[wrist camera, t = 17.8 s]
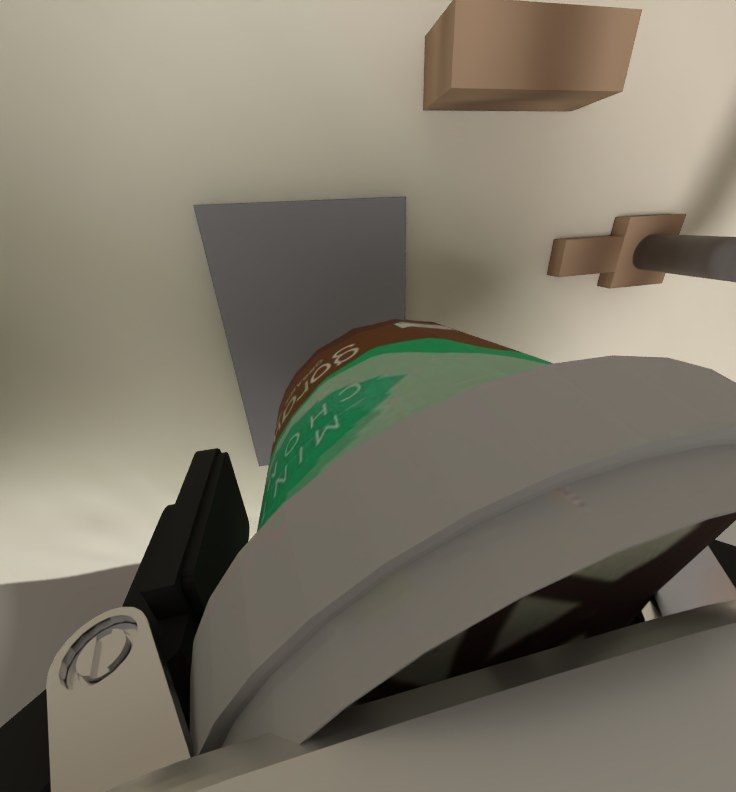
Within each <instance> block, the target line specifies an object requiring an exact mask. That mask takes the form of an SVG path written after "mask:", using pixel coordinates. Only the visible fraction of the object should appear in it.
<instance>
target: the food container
mask: <svg viewBox="0 0 736 792" xmlns="http://www.w3.org/2000/svg"><path fill="white" fill-rule="evenodd" d="M735 520H736V383H735V382H733V381H732V380H730V379H728V378H726V377H724V376H723V375H721V374H719V373H717V372H715V371H714V370H712V369H708V368H704V367H701V366H697V365H693V364H689V363H686V362H682V361H678V360H674V359H671V358H661V357H636V356H606V357H599V358H592V359H584V360H577V361H570V362H563V363H555V364H553V363H551V362H548V361H545V360H542V359H539V358H536V357H533V356H530V355H527V354H524V353H521V352H519V351H516V350H513V349H510V348H507V347H504V346H501V345H498V344H495V343H492V342H489V341H486V340H484V339H481V338H478V337H475V336H472V335H469V334H466V333H463V332H460V331H457V330H454V329H451V328H449V327H446V326H443V325H440V324H437V323H434V322H423V321H412V320H401V319H392V320H387V321H383V322H379V323H374V324H370V325H366V326H362V327H357V328H353V329H351V330H350V331H348V332H346V333H345V334H343V335H341V336H340V337H338V338H336V339H335V340H333V341H331V342H330V343H328V344H326V345H324V346H323V347H321V348H319V349H318V350H316V352H315V353H314V354H313V355H312V356H311V357H310V358H309V359H308V360H307V361H306V362H305V364H304V365H303V366H302V367H301V368H300V369H299V370H298V371H297V372H296V373H295V375H294V377H293V378H292V380H291V382H290V384H289V385H288V387H287V389H286V390H285V393H284V396H283V399H282V401H281V404H280V407H279V412H278V417H277V423H276V428H275V434H274V440H273V445H272V451H271V456H270V462H269V468H268V473H267V479H266V484H265V490H264V496H263V501H262V507H261V512H260V518H259V524H258V529H257V533H256V534H255V535H254V536H253V537H252V538H251V539H250V541H249V542H248V543H247V544H246V545H245V546H244V547H243V548H242V549H241V550H240V551H239V553H238V554H237V556H236V557H235V559H234V561H233V562H232V564H231V565H230V567H229V568H228V570H227V571H226V573H225V575H224V576H223V578H222V579H221V581H220V582H219V584H218V586H217V587H216V589H215V590H214V592H213V593H212V595H211V597H210V598H209V600H208V603H207V606H206V609H205V611H204V614H203V617H202V619H201V622H200V625H199V627H198V630H197V633H196V635H195V638H194V641H193V652H192V663H191V674H190V736H191V739H192V742H193V752H194V757H195V756H198V755H201V754H204V753H207V752H210V751H213V750H216V749H220V748H223V747H226V746H229V745H232V744H235V743H238V742H241V741H244V740H248V739H251V738H254V737H257V736H260V735H263V734H266V733H269V732H271V733H273V734H275V735H277V736H280V737H283V738H286V739H289V740H291V741H293V742H295V743H297V744H301V743H303V742H304V741H306V740H308V739H309V738H311V737H312V736H313V735H314V734H315V733H317V732H318V731H319V730H320V729H321V728H322V727H324V726H325V725H326V724H327V723H328V722H330V721H331V720H332V719H333V718H334V717H335V716H337V715H338V714H339V713H340V712H341V711H343V710H346V709H349V708H352V707H355V706H359V705H362V704H365V703H369V702H372V701H375V700H379V699H382V698H385V697H389V696H392V695H395V694H399V693H402V692H405V691H409V690H412V689H416V688H419V687H422V686H426V685H429V684H432V683H436V682H439V681H443V680H446V679H449V678H453V677H456V676H459V675H463V674H466V673H470V672H473V671H476V670H480V669H483V668H487V667H490V666H493V665H497V664H500V663H504V662H507V661H510V660H514V659H517V658H521V657H524V656H527V655H531V654H534V653H538V652H541V651H544V650H548V649H551V648H555V647H558V646H562V645H565V644H569V643H572V642H576V641H579V640H583V639H586V638H589V637H593V636H596V635H600V634H603V633H607V632H610V631H614V630H617V629H621V628H624V627H628V626H629V625H630V624H631V623H632V622H633V620H634V619H635V618H636V617H637V616H638V614H639V613H640V612H641V611H642V610H643V608H644V607H645V606H646V605H647V604H648V602H649V601H650V600H651V598H652V596H653V594H655V593H657V592H658V591H659V590H660V589H661V588H662V587H663V586H664V585H665V584H666V583H668V582H669V581H670V580H671V579H672V578H673V577H674V576H675V575H676V574H677V573H678V572H680V571H681V570H682V569H683V568H684V567H685V566H686V565H687V564H688V563H689V562H690V561H692V560H693V559H694V558H695V557H696V556H697V555H698V554H699V553H700V552H701V551H702V550H704V549H705V548H706V547H707V546H708V545H709V544H710V543H711V542H712V541H713V540H715V539H716V538H717V537H718V536H719V535H720V534H721V533H722V532H723V531H724V530H725V529H727V528H728V527H729V526H730V525H731V524H732V523H733V522H734V521H735Z"/></svg>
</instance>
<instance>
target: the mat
mask: <svg viewBox="0 0 736 792" xmlns="http://www.w3.org/2000/svg"><path fill="white" fill-rule="evenodd" d="M193 206H194V210H195V214H196V218H197V221H198V225H199V229H200V233H201V237H202V241H203V245H204V249H205V253H206V257H207V261H208V265H209V269H210V273H211V277H212V281H213V285H214V289H215V293H216V297H217V301H218V305H219V309H220V313H221V317H222V321H223V325H224V329H225V333H226V336H227V340H228V344H229V348H230V352H231V356H232V360H233V364H234V368H235V372H236V376H237V380H238V384H239V388H240V392H241V396H242V400H243V404H244V408H245V412H246V416H247V420H248V424H249V428H250V432H251V436H252V440H253V444H254V448H255V452H256V455H257V459H258V463H259V466H264V465H269V462H270V456H271V451H272V445H273V440H274V434H275V428H276V423H277V417H278V412H279V407H280V404H281V401H282V399H283V396H284V393H285V390H286V389H287V387H288V385H289V384H290V382H291V380H292V378H293V377H294V375H295V373H296V372H297V371H298V370H299V369H300V368H301V367H302V366H303V365H304V364H305V362H306V361H307V360H308V359H309V358H310V357H311V356H312V355H313V354H314V353H315V352H316V350H318V349H319V348H321V347H323V346H324V345H326V344H328V343H330V342H331V341H333V340H335V339H336V338H338V337H340V336H341V335H343V334H345V333H346V332H348V331H350V330H351V329H353V328H357V327H362V326H366V325H370V324H374V323H379V322H383V321H387V320H392V319H401V320H405V234H406V197H385V198H360V199H335V200H311V201H286V202H261V203H236V204H211V205H193Z"/></svg>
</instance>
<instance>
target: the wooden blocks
mask: <svg viewBox="0 0 736 792" xmlns="http://www.w3.org/2000/svg"><path fill="white" fill-rule="evenodd" d="M641 12H642V9H628V8H614V7H600V6H586V5H571V4H557V3H543V2H529V1H515V0H453V1H452V2H451V4H450V5H449V6H448V7H447V9H446V10H445V11H444V13H443V14H442V15H441V17H440V18H439V19H438V21H437V22H436V23H435V24H434V26H433V27H432V28H431V30H430V31H429V32H428V34H427V35H426V36H425V64H424V103H423V110H475V111H573V110H575V109H578V108H581V107H583V106H586V105H588V104H591V103H594V102H596V101H599V100H601V99H604V98H607V97H609V96H612V95H614V94H617V93H620V92H622V91H623V87H624V83H625V79H626V75H627V70H628V66H629V62H630V58H631V54H632V49H633V45H634V41H635V37H636V33H637V28H638V24H639V20H640V16H641ZM685 216H686V214H665V215H648V216H631V217H616V218H615V222H614V226H613V229H612V233H611V236H599V237H584V238H570V239H555V240H554V243H553V248H552V253H551V258H550V263H549V268H548V274H547V275H551V276H556V277H564V276H575V275H586V274H597V273H601V274H600V278H599V282H598V285H597V286H601V287H606V288H619V287H629V286H639V285H649V284H659V283H662V281H663V278H664V276H665V273H671V274H678V275H686V276H693V277H701V278H708V279H716V280H723V281H731V282H736V237H719V236H689V235H679V233H680V230H681V228H682V225H683V222H684V219H685Z"/></svg>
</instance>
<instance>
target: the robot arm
mask: <svg viewBox="0 0 736 792" xmlns="http://www.w3.org/2000/svg"><path fill="white" fill-rule="evenodd" d="M248 539H249V521H248V517H247V514H246V510H245V507H244V504H243V500H242V497H241V494H240V490H239V487H238V484H237V480H236V477H235V474H234V470H233V467H232V464H231V461H230V457H229V454H228V453H227V452H224V453H221V451H220V449H218V448H216V449H210V450H204V451H197V452H196V453H195V455H194V457H193V460H192V462H191V465H190V467H189V470H188V472H187V475H186V477H185V480H184V482H183V485H182V488H181V490H180V493H179V495H178V498H177V500H176V503H175V504H173V505H168V506H167V507H166V508H165V509H164V511H163V513H162V515H161V517H160V519H159V522H158V524H157V526H156V529H155V531H154V533H153V536H152V538H151V540H150V543H149V545H148V547H147V550H146V552H145V554H144V557H143V559H142V561H141V564H140V567H139V569H138V571H137V573H136V576H135V578H134V580H133V583H132V585H131V587H130V590H129V592H128V594H127V597H126V599H125V601H124V604H123V606H122V607H120V608H117V609H112V610H109V611H107V612H105V613H103V614H101V615H99V616H97V617H95V618H93V619H92V620H91V621H90V622H88V623H86V624H85V625H84V626H82V627H81V628H80V629H79V630H78V631H77V632H75V634H73V635H72V636H71V637H70V639H68V640H67V641H66V643H65V644H64V645H63V647H62V648H61V649H60V651H59V652H58V653H57V655H56V656H55V658H54V660H53V663H52V665H51V667H50V669H49V671H48V678H47V683H46V690H44V691H43V692H42V693H41V694H40V695H39V696H37V697H36V698H35V699H34V700H33V701H32V702H30V703H29V704H28V705H27V706H26V707H24V708H23V709H22V710H21V711H20V712H18V713H17V714H16V715H15V716H14V717H13V718H11V719H10V720H9V721H8V722H7V723H5V724H4V725H3V726H2V727H1V728H0V792H736V546H733V545H730V544H727V543H723V542H720V541H717V540H713V541H712V542H711V543H710V544H709V545H708V546H707V547H706V548H705V549H704V550H702V551H701V552H700V553H699V554H698V555H697V556H696V557H695V558H694V559H693V560H692V561H690V562H689V563H688V564H687V565H686V566H685V567H684V568H683V569H682V570H681V571H680V572H678V573H677V574H676V575H675V576H674V577H673V578H672V579H671V580H670V581H669V582H668V583H666V584H665V585H664V586H663V587H662V588H661V589H660V590H659V591H658V592H657V593H655V594H653V596H652V598H651V600H650V601H649V602H648V604H647V605H646V606H645V607H644V608H643V610H642V611H641V612H640V613H639V614H638V616H637V617H636V618H635V619H634V620H633V622H632V623H631V624H630V625H629V626H628V627H624V628H621V629H617V630H614V631H610V632H607V633H603V634H600V635H596V636H593V637H589V638H586V639H583V640H579V641H576V642H572V643H569V644H565V645H562V646H558V647H555V648H551V649H548V650H544V651H541V652H538V653H534V654H531V655H527V656H524V657H521V658H517V659H514V660H510V661H507V662H504V663H500V664H497V665H493V666H490V667H487V668H483V669H480V670H476V671H473V672H470V673H466V674H463V675H459V676H456V677H453V678H449V679H446V680H443V681H439V682H436V683H432V684H429V685H426V686H422V687H419V688H416V689H412V690H409V691H405V692H402V693H399V694H395V695H392V696H389V697H385V698H382V699H379V700H375V701H372V702H369V703H365V704H362V705H359V706H355V707H352V708H349V709H346V710H343V711H341V712H340V713H339V714H338V715H337V716H335V717H334V718H333V719H332V720H331V721H330V722H328V723H327V724H326V725H325V726H324V727H322V728H321V729H320V730H319V731H318V732H317V733H315V734H314V735H313V736H312V737H311V738H309V739H308V740H306V741H304V742H303V743H301V744H297V743H295V742H293V741H291V740H289V739H286V738H283V737H280V736H277V735H275V734H273V733H271V732H269V733H266V734H263V735H260V736H257V737H254V738H251V739H248V740H244V741H241V742H238V743H235V744H232V745H229V746H226V747H223V748H220V749H216V750H213V751H210V752H207V753H204V754H201V755H198V756H195V757H194V752H193V742H192V739H191V736H190V674H191V663H192V652H193V641H194V638H195V635H196V633H197V630H198V627H199V625H200V622H201V619H202V617H203V614H204V611H205V609H206V606H207V603H208V600H209V598H210V597H211V595H212V593H213V592H214V590H215V589H216V587H217V586H218V584H219V582H220V581H221V579H222V578H223V576H224V575H225V573H226V571H227V570H228V568H229V567H230V565H231V564H232V562H233V561H234V559H235V557H236V556H237V554H238V553H239V551H240V550H241V549H242V548H243V547H244V546H245V545H246V544H247V543H248Z"/></svg>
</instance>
